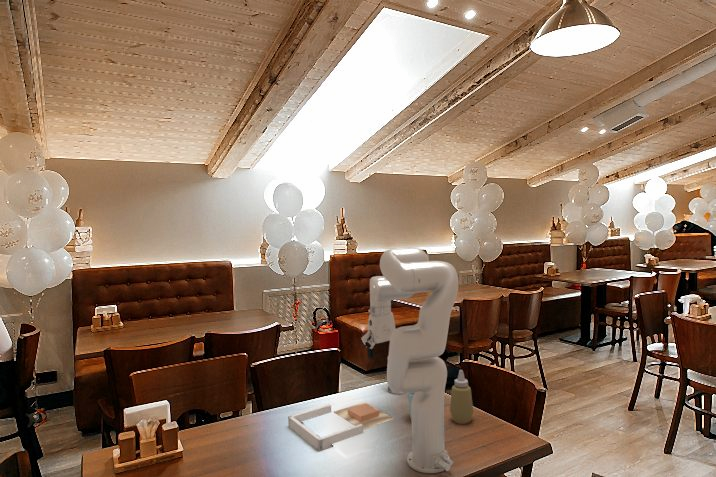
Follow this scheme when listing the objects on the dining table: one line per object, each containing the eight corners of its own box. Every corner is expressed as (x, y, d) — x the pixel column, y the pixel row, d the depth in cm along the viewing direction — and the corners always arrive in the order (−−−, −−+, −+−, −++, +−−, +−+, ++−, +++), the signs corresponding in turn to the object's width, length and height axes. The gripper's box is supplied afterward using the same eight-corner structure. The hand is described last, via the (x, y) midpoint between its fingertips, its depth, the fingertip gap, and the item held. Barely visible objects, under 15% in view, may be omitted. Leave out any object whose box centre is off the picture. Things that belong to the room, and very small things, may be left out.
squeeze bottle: (475, 425, 163) (475, 374, 162) (452, 426, 163) (451, 374, 162) (470, 415, 171) (470, 366, 170) (448, 415, 171) (447, 366, 170)
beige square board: (394, 421, 168) (394, 418, 168) (361, 432, 160) (361, 430, 160) (364, 404, 183) (364, 402, 182) (333, 414, 175) (333, 411, 174)
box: (363, 435, 158) (363, 425, 158) (319, 451, 149) (319, 440, 148) (329, 413, 176) (329, 404, 175) (288, 426, 166) (288, 416, 166)
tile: (378, 416, 170) (378, 410, 170) (360, 422, 166) (360, 416, 165) (365, 408, 177) (365, 403, 177) (347, 414, 172) (347, 409, 172)
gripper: (367, 315, 166) (369, 363, 168) (405, 308, 176) (406, 353, 178) (355, 312, 173) (356, 358, 174) (392, 305, 183) (393, 349, 184)
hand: (381, 355), depth 176 cm, fingers open, 9 cm apart
